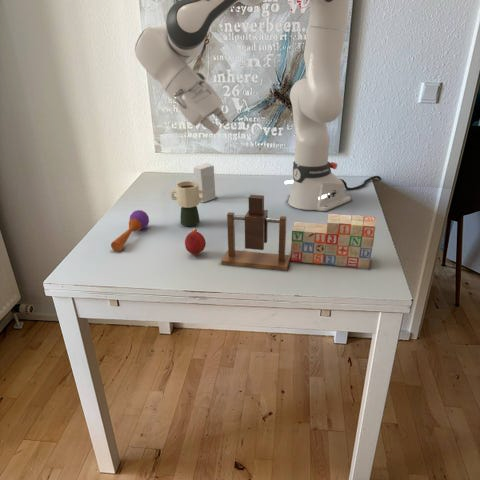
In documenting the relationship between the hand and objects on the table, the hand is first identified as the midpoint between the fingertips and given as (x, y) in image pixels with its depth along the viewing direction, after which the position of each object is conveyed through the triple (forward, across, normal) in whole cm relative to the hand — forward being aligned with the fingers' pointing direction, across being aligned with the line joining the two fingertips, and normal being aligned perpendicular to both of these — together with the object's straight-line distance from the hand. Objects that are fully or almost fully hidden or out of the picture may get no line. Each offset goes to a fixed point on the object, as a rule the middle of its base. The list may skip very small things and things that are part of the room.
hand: (222, 127), depth 133 cm
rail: (+31, -16, +13) cm, 38 cm away
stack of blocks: (+46, -11, -1) cm, 47 cm away
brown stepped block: (+28, -16, +9) cm, 33 cm away
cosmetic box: (+12, +28, +33) cm, 45 cm away
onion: (+19, -16, +26) cm, 35 cm away
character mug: (+13, +6, +32) cm, 35 cm away
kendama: (+3, -8, +42) cm, 43 cm away
